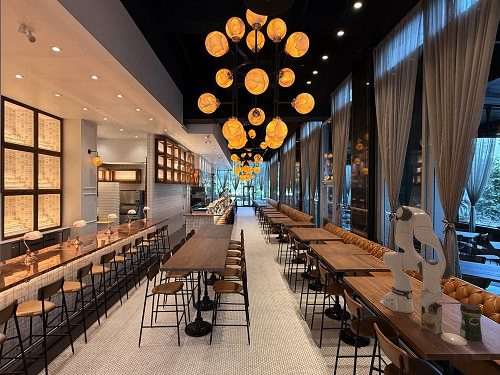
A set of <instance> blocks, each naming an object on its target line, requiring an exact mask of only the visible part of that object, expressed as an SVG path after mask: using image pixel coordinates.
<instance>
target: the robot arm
mask: <svg viewBox="0 0 500 375" xmlns="http://www.w3.org/2000/svg"><path fill="white" fill-rule="evenodd" d="M395 216H396V218H397V219H398V220H397V222H396V227H395V237H394V238H395V239H394V242H395V243H394V244H395V245H396V246H397V247H399V248H401V249H402V250H403V251H404V252H398V251H397V252H396V251H387V252H384V254H383V256H382V261H383V263H384V265H385V266H386V267H387V268H388V269H389V270H390V272H391V274H392V277H393V286H390V287H389V288H390V289H391V291H389V292H387V293H385V294H384V296H383V299H381V300H379V304H380V305H382V306H384V307H386V308H388V309H390V310H391V311H393V312H400V313H404V314H405V313H406V314H407V313H410V314H411V313H414V312H415V308H414V305H413V287H412V284H413V283H412V282H413V280H412V277H411V276H410V275H409V274H407V273H405V271H403V270H406V271H407V270H409V271H416V272H417V274H418V275H419V276H420V277H422V291H421V292H420V293H419V296H418V305H419V306H420V307H421V306H423V307H424V308H425V312H427V313H428V312H429V308H428V307H429V305H431V304H434V303H438V302H440V301H442V300H443V298H444V289H445V286H444V285H443V284H441V281H440V280H444V281H445V280H446V281H447V280H450V279H451V278H452V277H453V274H454V271H453V267H452V265H451V264H450V261H449V259H448V256H447V252H446V250H445V246H444V244H443V242H442V239H441V237H439V236H437V235H436V234H435V231H434V227H433V223H432V218H431V216H430V213H429V211H427V210H425V209H421V208H418V207H415V206H414V207H413V206H406V205H401V206H399V207H397V209H396V212H395ZM414 237H415V239H416V240H417V241H419V242H420V243H422V244H424V245H427V246H430V247H431V248H433V249H434V250H435V251H436V253H437V254H436V255H437V257H438V260H439V261H438V260H436V259H434V258H425V259H424V257H422V256H421V255H420V254H419V253H418V252H417V250H416V248H415V246H414ZM438 304H439V303H438Z"/></svg>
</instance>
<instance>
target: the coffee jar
mask: <svg viewBox="0 0 500 375" xmlns="http://www.w3.org/2000/svg"><path fill="white" fill-rule="evenodd" d="M459 311H460V313H461V316H460V317H461V322H460V328H459V334H460V336H461V337H463V338H465V339H466V340H469V341H482V339H483V335H482V334H483V333H482V326H481V318H482V316H483V314H482V313H483V312H482V308H481V307H480V305H478V304H471V303H470V304H469V303H460V308H459Z"/></svg>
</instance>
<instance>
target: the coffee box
mask: <svg viewBox="0 0 500 375" xmlns="http://www.w3.org/2000/svg"><path fill="white" fill-rule="evenodd" d="M420 307H421V311H420V312H421V313H420V314H421V317H420V322H421V323H420V328H421V329H423V330H425V331H427V332H429V333H432V334H435V335H438V334H441V333H443V332H442V329H443V326H442V325H443V304H440V303H434V304H431V305H429V307H428V308H429V312H428V313H427V312H425V308H424V307H423V306H420Z"/></svg>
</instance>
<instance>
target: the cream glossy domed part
mask: <svg viewBox="0 0 500 375" xmlns="http://www.w3.org/2000/svg"><path fill="white" fill-rule="evenodd" d="M440 339H442V341H444V342H446V343H448V344H451V345H455V346H463V347H464V346H467V345H468V339H466V338H464V337H462V336H461V335H458V334H455V333H450V332H441V333H440Z"/></svg>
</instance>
